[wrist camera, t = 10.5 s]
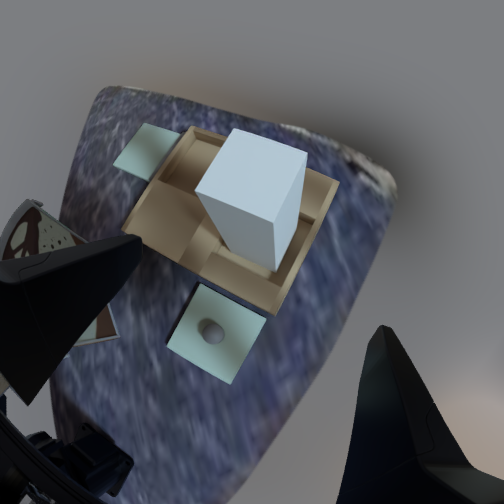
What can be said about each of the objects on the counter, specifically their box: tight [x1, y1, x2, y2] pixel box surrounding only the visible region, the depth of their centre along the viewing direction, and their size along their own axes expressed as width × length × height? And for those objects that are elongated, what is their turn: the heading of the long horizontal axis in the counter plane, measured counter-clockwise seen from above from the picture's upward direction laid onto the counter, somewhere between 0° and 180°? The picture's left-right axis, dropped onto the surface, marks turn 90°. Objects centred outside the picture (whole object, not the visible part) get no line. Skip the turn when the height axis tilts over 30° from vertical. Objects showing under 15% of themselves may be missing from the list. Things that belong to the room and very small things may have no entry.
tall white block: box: [195, 128, 308, 273], centre depth 18 cm, size 4×4×11 cm
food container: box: [0, 199, 120, 358], centre depth 20 cm, size 12×6×10 cm, turn 24°
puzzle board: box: [113, 123, 340, 384], centre depth 24 cm, size 18×22×2 cm
